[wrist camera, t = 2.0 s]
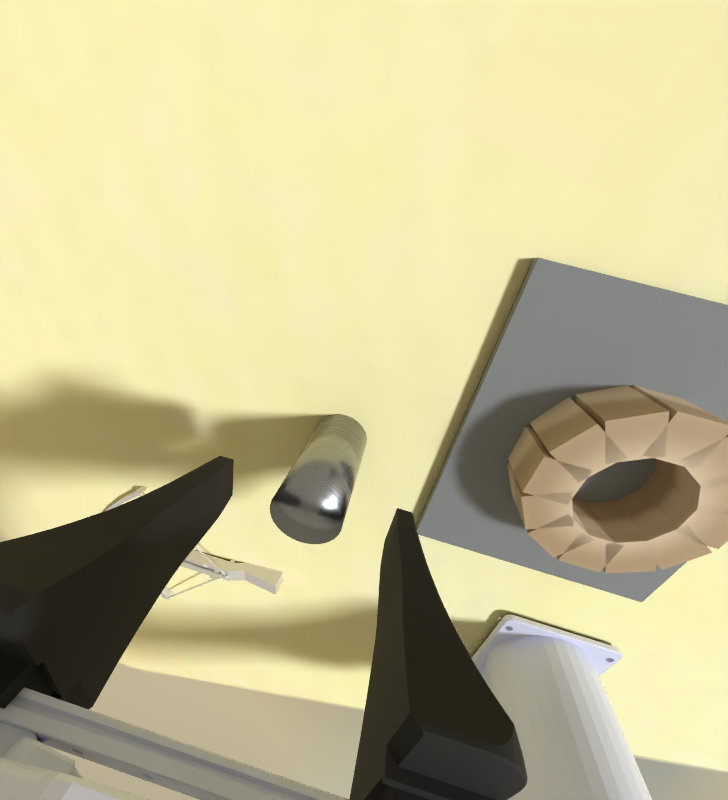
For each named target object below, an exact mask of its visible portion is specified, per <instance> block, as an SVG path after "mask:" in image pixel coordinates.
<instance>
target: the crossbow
mask: <svg viewBox="0 0 728 800" xmlns="http://www.w3.org/2000/svg"><path fill="white" fill-rule="evenodd" d="M147 488H148V487H144V486H141V487H140V488H139V489H137V490H136V491H134V492H132V493H130V494H128V495H126V496H124V497H123V498H121V499H120V500H119V501H117V502H116V503H114V504H113V505H112V506H110V507H109V508H108V509H106V511H107V510H110V509H112V508H115V507H117V506H119V505H121V504H122V503H123V502H125V501H127V500H129V499H132V498H134V497H136V496H139V495H140V496H142V495H141V493H143V492H144V491H145V490H146V489H147ZM194 548H196V549H197V550H198V551H199V552H198V551H195V550H192V551H191V552H190V554H189V555H188V556H187V557H186V559H185V560H184V561H183V562H182V564H181V565H180V566H183V567H186V568H189V569H192V570H195V571H198V572H201V573H204V574H207V575H210V576H211V577H210V578H213V579H212V580H209V581H207V582H204V583H202V584H199V585H197V586H194V587H191V588H189V589H186V590H184V591H181V592H179V593H176V594H174V595H172V594H173V592H172V591H171V590H170V589H169V588H167V587H166V586H165V588H164V589H163V591H162V592H161V594H162V595H161V596H162V597H163V598H165V599H169V598H170V597H172V596H175V595H177V594H180V593H183V592H185V591H188V590H190V589H193V588H195V587H198V586H200V585H203V584H206V583H208V582H211V581H213V580H216V579H218V578H219V579H221V578H223V579H224V580H225V579H226V580H246V581H248V582H250V583H252V584H254V585H257V586H259V587H261V588H263V589H265V590H267V591H270V592H272V593H274V594H276V593H277V591H278V589H279V587H280V585H281V583H282V581H283V572H281V571H277V570H273V569H269V568H265V567H261V566H257V565H253V564H249V563H236V560H233V559H232V560H231V561H226V560H223V559H220V558H217V557H214V556H211V555H208V554H205V553H202V552H201V551H200V550H199V549H198V548H197V547H196V546H195V547H194Z"/></svg>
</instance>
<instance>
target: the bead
mask: <svg viewBox="0 0 728 800" xmlns="http://www.w3.org/2000/svg"><path fill="white" fill-rule="evenodd" d="M575 399H576V403H575V402H574V401H573V400H572V399H571V398H570V397H568V398H567V399H565V400H563V401H562V402H560V403H559V404H557V405H556V406H554V407H553V408H551V409H550V410H548V411H547V412H545V413H544V414H542V415H540V416H539V417H537V418H536V419H534V420H533V421H531V422H530V424H531V426H532V427H533V429H532V428H529V427H525V429H524V431H523V432H522V434H521V436H520V438H519V440H518V441H517V443H516V445H515V447H514V449H513V450H512V452H511V454H510V456H509V458H508V460H509V462H510V463H507V466H508V473H509V480H510V487H511V493H512V496H513V498H514V501H515V503H516V506H517V509H518V511H519V514H520V516H521V519H522V522H523V524H524V527H525V529H526V530H527V533H528V534H529V535H530V536H531V537H532V538H533V539H534V540H535V541H536V542H537V543H538V544H539V545H541V546H542V547H543V548H544V549H545V550H546V551H547V552H548V553H549V554H550V555H551V556H552V557H553V558H554V557H557V559H558V560H559V561H562V562H566V563H569V564H572V565H576V566H579V567H582V568H586V569H589V570H592V571H596V572H600V571H601V570H602V569H603V570H604V572H605V573H627V572H652V571H656V564H657V565H658V566H659V567H660V568H661V569H662V570H664V569H667V568H670V567H672V566H675V565H678V564H681V563H684V562H687V561H689V560H692V559H695V558H698V557H701V556H703V555H706V554H709V553H712V552H711V550H710V549H709V548H708V547H707V546H710V547H713V548H717V549H719V548H720V547H721V546H722V545H723V544H725V543H726V542H727V541H728V423H727V422H725V421H723V420H721V419H719V418H718V417H716V416H714V415H712V414H710V413H708V412H706V411H705V410H703V409H701V408H699V407H697V406H695V405H694V404H692V403H690V402H688V401H686V400H684V399H682V398H680V397H676V396H672V395H669V394H665V393H661V392H658V391H654V390H650V389H646V388H643V387H639V386H635V385H634V386H633V388H631V387H630V386H628V385H625V386H619V387H614V388H608V389H603V390H597V391H592V392H586V393H581V394H575ZM648 458H655V459H656V467H655V472H654V473H653V474H652V475H651V476H650V477H649V479H648V480H647V481H646V482H645V483H644V484H643V486H642V487H641V488H640V489H639V490H636V491H634V492H632V493H630V494H628V495H626V496H624V497H622V498H620V499H617V500H615V501H605V502H595V503H586V502H583V501H579V500H576V499H572V498H573V497H574V495H575V494H576V493H577V491H578V490H579V489H580V487H581V486H582V484H583V483H584V482H585V480H586V479H587V478H588V477H590V476H592V475H594V474H596V473H597V472H599V471H601V470H603V469H605V468H607V467H609V466H611V465H613V464H615V463H617V462H624V461H632V460H640V459H648Z"/></svg>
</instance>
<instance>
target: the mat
mask: <svg viewBox="0 0 728 800" xmlns="http://www.w3.org/2000/svg"><path fill="white" fill-rule="evenodd" d="M625 385H628V386H630V387H631V388H633V386H634V385H635V386H639V387H643V388H646V389H650V390H654V391H658V392H661V393H665V394H669V395H672V396H676V397H680V398H682V399H684V400H686V401H688V402H690V403H692V404H694V405H695V406H697V407H699V408H701V409H703V410H705V411H706V412H708V413H710V414H712V415H714V416H716V417H718V418H719V419H721V420H723V421H725V422H727V423H728V305H725V304H721V303H717V302H713V301H709V300H705V299H701V298H697V297H693V296H689V295H685V294H681V293H677V292H673V291H669V290H665V289H661V288H657V287H653V286H649V285H645V284H641V283H637V282H633V281H629V280H625V279H621V278H617V277H613V276H609V275H605V274H601V273H597V272H593V271H589V270H585V269H581V268H577V267H573V266H569V265H565V264H561V263H557V262H553V261H549V260H545V259H541V258H534V259H533V262H532V264H531V266H530V269H529V271H528V273H527V275H526V278H525V280H524V282H523V285H522V287H521V289H520V291H519V294H518V296H517V298H516V300H515V303H514V305H513V307H512V310H511V312H510V314H509V316H508V319H507V321H506V323H505V326H504V328H503V330H502V332H501V335H500V337H499V339H498V342H497V344H496V346H495V348H494V351H493V353H492V355H491V357H490V360H489V362H488V364H487V367H486V369H485V371H484V373H483V376H482V378H481V380H480V383H479V385H478V387H477V389H476V392H475V394H474V396H473V399H472V401H471V403H470V405H469V408H468V410H467V412H466V414H465V417H464V419H463V421H462V424H461V426H460V428H459V430H458V433H457V435H456V437H455V440H454V442H453V444H452V446H451V449H450V451H449V453H448V456H447V458H446V460H445V462H444V465H443V467H442V469H441V471H440V474H439V476H438V478H437V481H436V483H435V485H434V487H433V490H432V492H431V494H430V497H429V499H428V501H427V503H426V506H425V508H424V510H423V513H422V515H421V517H420V519H419V522H418V524H417V526H416V529H417V533H418V535H422V536H425V537H428V538H432V539H435V540H438V541H441V542H445V543H448V544H451V545H455V546H458V547H461V548H465V549H468V550H471V551H474V552H478V553H481V554H484V555H488V556H491V557H494V558H498V559H501V560H504V561H508V562H511V563H514V564H517V565H521V566H524V567H527V568H531V569H534V570H537V571H541V572H544V573H547V574H550V575H554V576H557V577H560V578H564V579H567V580H570V581H574V582H577V583H580V584H583V585H587V586H590V587H593V588H597V589H600V590H603V591H607V592H610V593H613V594H617V595H620V596H623V597H626V598H630V599H633V600H636V601H640V602H643V601H644V600H645V599H646V598H647V597H648V596H649V595H650V594H652V593H653V592H654V591H655V590H656V589H657V588H658V587H659V586H660V585H662V584H663V583H664V582H665V581H666V580H667V579H668V578H669V577H670V576H672V575H673V574H674V573H675V572H676V571H677V570H678V569H679V568H680V567H682V566H683V565H684V564H685V563H686V562H684V563H681V564H678V565H675V566H672V567H670V568H667V569H664V570H662V569H661V568H660V567H659V566H658V565H657V564H656V571H652V572H627V573H605V572H604V570H603V569H602V570H601V571H600V572H596V571H592V570H589V569H586V568H582V567H579V566H576V565H572V564H569V563H566V562H562V561H559V560H558V559H557V557H554V558H553V557H552V556H551V555H550V554H549V553H548V552H547V551H546V550H545V549H544V548H543V547H542V546H541V545H539V544H538V543H537V542H536V541H535V540H534V539H533V538H532V537H531V536H530V535H529V534H528V533H527V530H526V529H525V527H524V524H523V522H522V519H521V516H520V514H519V511H518V509H517V506H516V503H515V501H514V498H513V496H512V493H511V487H510V480H509V473H508V466H507V463H510V462H509V460H508V458H509V456H510V454H511V452H512V450H513V449H514V447H515V445H516V443H517V441H518V440H519V438H520V436H521V434H522V432H523V431H524V429H525V427H529V428H532V429H533V427H532V426H531V424H530V422H531V421H533V420H534V419H536V418H537V417H539V416H540V415H542V414H544V413H545V412H547V411H548V410H550V409H551V408H553V407H554V406H556V405H557V404H559V403H560V402H562V401H563V400H565V399H567V398H568V397H570V398H571V399H572V400H573V401H574V402H575V403H576V399H575V394H581V393H586V392H592V391H597V390H603V389H608V388H614V387H619V386H625ZM655 467H656V459H655V458H648V459H640V460H632V461H624V462H617V463H615V464H613V465H611V466H609V467H607V468H605V469H603V470H601V471H599V472H597V473H596V474H594V475H592V476H590V477H588V478H587V479H586V480H585V482H584V483H583V484H582V486H581V487H580V489H579V490H578V491H577V493H576V494H575V495H574V497H573V498H572V499H576V500H579V501H583V502H586V503H595V502H605V501H615V500H617V499H620V498H622V497H624V496H626V495H628V494H630V493H632V492H634V491H636V490H639V489H640V488H641V487H642V486H643V484H644V483H645V482H646V481H647V480H648V479H649V477H650V476H651V475H652V474H653V473H654V472H655Z"/></svg>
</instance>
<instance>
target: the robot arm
mask: <svg viewBox="0 0 728 800" xmlns="http://www.w3.org/2000/svg"><path fill="white" fill-rule="evenodd" d="M233 462H234V460H233V459H229V458H226V457H222V456H219V457H217V458H215V459H213V460H211V461H210V462H208V463H206V464H204V465H202V466H200V467H199V468H197V469H195V470H193V471H191V472H189V473H187V474H186V475H184V476H182V477H180V478H178V479H176V480H174V481H172V482H170V483H168V484H166V485H164V486H162V487H160V488H158V489H156V490H154V491H152V492H150V493H148V494H146V495H143V496H141V497H139V498H137V499H134V500H132V501H130V502H127V503H125V504H122V505H120V506H117V507H115V508H112V509H110V510H107V511H104V512H102V513H99V514H96V515H93V516H90V517H87V518H84V519H81V520H78V521H75V522H73V523H69V524H66V525H63V526H60V527H56V528H53V529H50V530H46V531H42V532H39V533H35V534H32V535H28V536H24V537H20V538H16V539H12V540H8V541H3V542H0V800H148V799H145V798H142V797H139V796H137V795H134V794H131V793H128V792H125V791H122V790H119V789H116V788H113V787H109V786H107V785H103V784H100V783H96V782H93V781H89V780H86V779H84V778H83V777H82V776H81V775H80V774H79V772H78V771H77V769H76V768H75V761H74V760H73V759H71V758H69V757H67V756H65V755H63V754H61V753H59V752H58V751H56V750H53V749H52V748H50V747H53V748H56V749H59V750H61V751H64V752H67V753H70V754H73V755H76V756H78V757H81V758H84V759H87V760H90V761H93V762H95V763H98V764H101V765H104V766H107V767H110V768H113V769H115V770H118V771H121V772H124V773H127V774H129V775H132V776H135V777H138V778H141V779H143V780H146V781H149V782H152V783H155V784H158V785H160V786H163V787H166V788H169V789H172V790H175V791H177V792H180V793H183V794H186V795H189V796H191V797H194V798H197V799H200V800H349V799H346V798H343V797H340V796H337V795H335V794H331V793H329V792H326V791H323V790H320V789H317V788H314V787H311V786H309V785H306V784H303V783H299V782H297V781H294V780H291V779H288V778H285V777H282V776H280V775H277V774H274V773H271V772H268V771H265V770H262V769H259V768H256V767H253V766H251V765H248V764H245V763H242V762H239V761H236V760H233V759H230V758H227V757H224V756H221V755H219V754H216V753H213V752H210V751H207V750H204V749H201V748H198V747H195V746H193V745H190V744H187V743H184V742H181V741H178V740H175V739H172V738H169V737H167V736H164V735H161V734H158V733H155V732H152V731H149V730H146V729H143V728H141V727H138V726H135V725H132V724H129V723H126V722H123V721H120V720H117V719H114V718H112V717H108V716H106V715H103V714H100V713H97V712H94V711H91V710H88V709H90V708H91V707H93V705H94V703H95V701H96V700H97V698H98V696H99V694H100V693H101V691H102V689H103V687H104V686H105V684H106V682H107V680H108V679H109V677H110V675H111V673H112V672H113V670H114V668H115V667H116V665H117V663H118V661H119V660H120V658H121V656H122V655H123V653H124V651H125V650H126V648H127V646H128V645H129V643H130V641H131V640H132V638H133V636H134V635H135V633H136V632H137V630H138V628H139V627H140V625H141V623H142V622H143V620H144V619H145V617H146V616H147V614H148V612H149V611H150V609H151V608H152V606H153V605H154V603H155V601H156V600H157V598H158V597H159V595H160V594H161V592H162V591H163V589H164V588H165V586H166V585H167V583H168V582H169V580H170V579H171V577H172V576H173V574H174V573H175V572H176V570H177V569H178V568H179V566H180V565H181V564H182V562H183V561H184V560H185V559H186V557H187V556H188V555H189V554H190V552H191V551H192V550H193V549H194V547H195V546H196V545H197V544H198V542H199V541H200V540H201V539H202V537H203V536H204V535H205V534H206V532H207V531H208V530H209V529H210V527H211V526H212V525H213V524H214V522H215V521H216V520H217V518H218V517H219V516H220V514H221V513H222V511H223V509H224V508H225V506H226V505H227V503H228V501H229V500H230V498H231V496H232V491H233ZM621 658H622V654H621V652H620V650H619V649H618V648H617V647H614V646H611V645H608V644H605V643H602V642H598V641H595V640H592V639H589V638H585V637H582V636H579V635H576V634H573V633H569V632H566V631H563V630H560V629H557V628H553V627H550V626H547V625H544V624H541V623H537V622H534V621H531V620H528V619H524V618H521V617H518V616H515V615H511V614H510V615H505V616H504V617H503V618H502V620H501V621H500V622H499V623H498V625H497V626H496V627H495V629H494V630H493V631H492V632H491V634H490V635H489V636H488V638H487V639H486V640H485V641H484V643H483V644H482V645H481V646H480V648H479V649H478V650H477V652H476V653H475V654H474V655H473V657H472V658H471V657H470V655H469V653H468V651H467V649H466V648H465V646H464V644H463V642H462V641H461V639H460V637H459V635H458V633H457V632H456V630H455V628H454V626H453V624H452V622H451V620H450V618H449V616H448V613H447V611H446V609H445V607H444V605H443V603H442V600H441V598H440V596H439V594H438V591H437V589H436V586H435V584H434V581H433V579H432V576H431V574H430V571H429V568H428V565H427V562H426V559H425V556H424V553H423V550H422V547H421V544H420V540H419V537H418V533H417V529H416V525H415V521H414V516H413V514H412V512H408V511H405V510H401V509H398V508H397V510H396V513H395V516H394V518H393V521H392V523H391V526H390V529H389V531H388V534H387V536H386V539H385V543H384V549H383V554H382V561H381V568H380V583H379V599H378V615H377V629H376V639H375V646H374V653H373V660H372V667H371V674H370V680H369V687H368V693H367V700H366V706H365V712H364V718H363V725H362V731H361V737H360V743H359V749H358V755H357V760H356V766H355V772H354V777H353V783H352V789H351V794H350V800H652V799H651V796H650V794H649V792H648V789H647V787H646V785H645V782H644V780H643V778H642V775H641V773H640V770H639V768H638V766H637V763H636V761H635V759H634V756H633V754H632V752H631V749H630V747H629V745H628V742H627V740H626V738H625V735H624V733H623V731H622V728H621V726H620V724H619V721H618V719H617V717H616V714H615V712H614V710H613V707H612V705H611V703H610V700H609V698H608V696H607V693H606V691H605V689H604V686H603V684H602V681H601V679H600V677H599V676H600V675H601V674H602V673H604V672H605V671H606V670H607V669H609V668H610V667H611V666H612V665H613V664H615V663H616V662H617V661H618V660H620V659H621ZM46 745H47V746H46ZM48 746H50V747H48Z"/></svg>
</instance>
